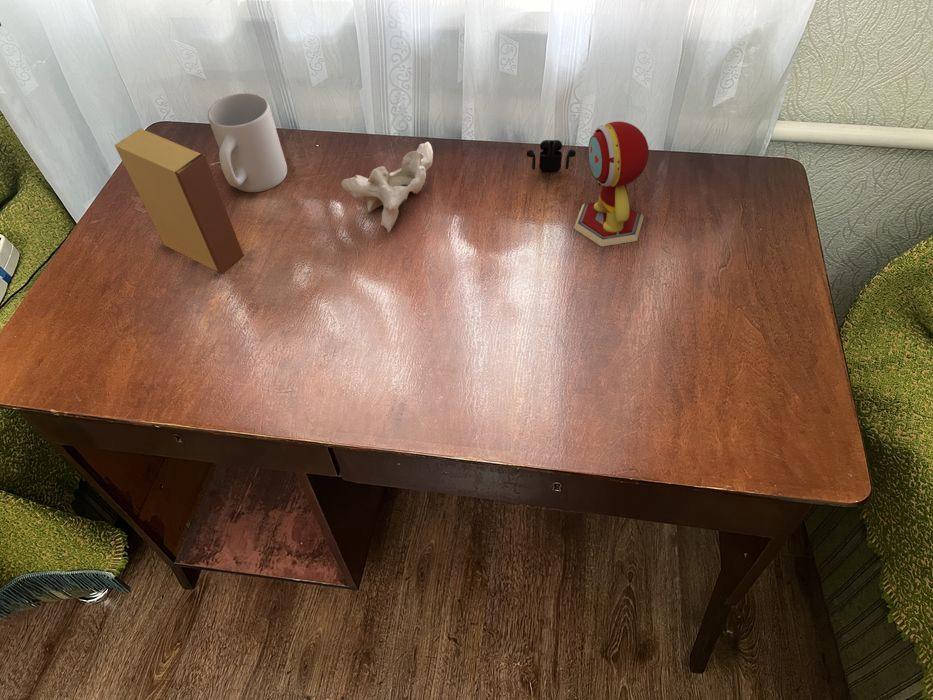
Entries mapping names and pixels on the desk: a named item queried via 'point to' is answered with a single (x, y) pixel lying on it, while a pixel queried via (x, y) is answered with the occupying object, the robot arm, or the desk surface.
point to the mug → (247, 142)
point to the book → (181, 199)
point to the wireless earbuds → (550, 156)
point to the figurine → (614, 184)
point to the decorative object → (392, 184)
